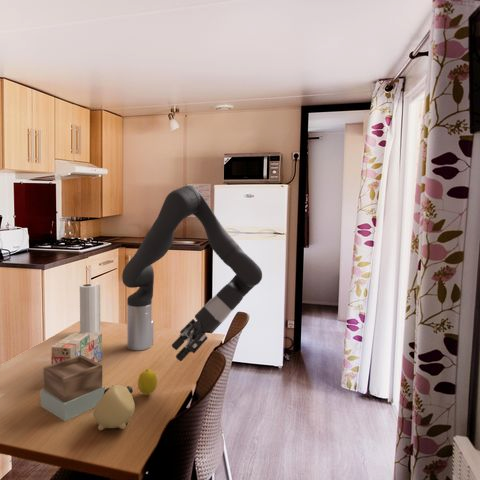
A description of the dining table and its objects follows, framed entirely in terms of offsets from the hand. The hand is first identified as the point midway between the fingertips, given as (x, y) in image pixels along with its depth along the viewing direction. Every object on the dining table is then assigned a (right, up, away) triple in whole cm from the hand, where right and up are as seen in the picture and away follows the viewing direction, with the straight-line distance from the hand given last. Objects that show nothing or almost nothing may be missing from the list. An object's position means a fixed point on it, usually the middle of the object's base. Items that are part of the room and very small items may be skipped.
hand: (175, 353), depth 114 cm
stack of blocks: (-35, -10, +14) cm, 39 cm away
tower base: (-28, -12, -7) cm, 31 cm away
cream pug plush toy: (-13, -14, -16) cm, 25 cm away
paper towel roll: (-45, -6, +47) cm, 66 cm away
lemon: (-8, -12, -1) cm, 15 cm away
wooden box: (-27, -7, -8) cm, 29 cm away
